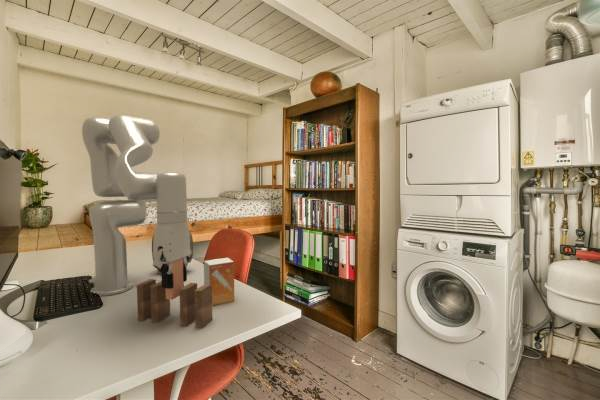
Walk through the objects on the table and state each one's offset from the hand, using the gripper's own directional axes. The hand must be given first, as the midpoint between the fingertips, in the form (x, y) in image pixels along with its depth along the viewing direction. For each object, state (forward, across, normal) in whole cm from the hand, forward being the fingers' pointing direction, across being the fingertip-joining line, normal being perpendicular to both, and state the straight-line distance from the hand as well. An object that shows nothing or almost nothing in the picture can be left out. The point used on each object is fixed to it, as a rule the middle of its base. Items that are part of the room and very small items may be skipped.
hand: (174, 283), depth 80 cm
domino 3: (+3, 0, 0) cm, 3 cm away
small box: (+11, -15, +5) cm, 19 cm away
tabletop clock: (+10, -37, -28) cm, 48 cm away
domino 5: (+10, 0, +9) cm, 13 cm away
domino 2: (+10, 0, -5) cm, 11 cm away
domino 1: (+10, 0, -9) cm, 14 cm away
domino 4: (+10, 0, +4) cm, 11 cm away
